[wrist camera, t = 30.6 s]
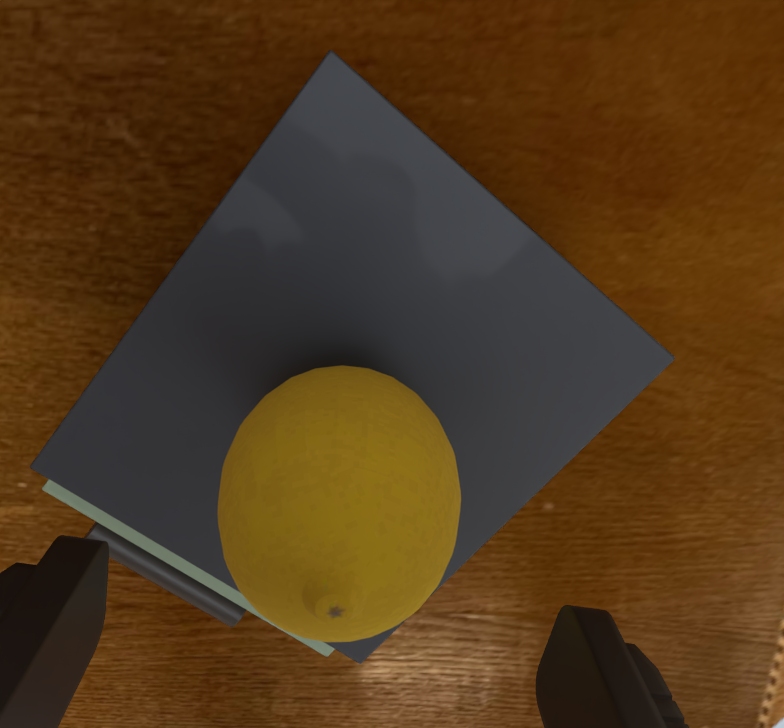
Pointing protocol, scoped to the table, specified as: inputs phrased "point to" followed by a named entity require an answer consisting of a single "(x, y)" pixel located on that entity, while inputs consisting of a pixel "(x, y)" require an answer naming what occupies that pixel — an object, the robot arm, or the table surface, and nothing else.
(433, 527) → the lemon
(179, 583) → the drawer
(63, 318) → the table surface
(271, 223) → the cabinet
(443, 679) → the table surface
